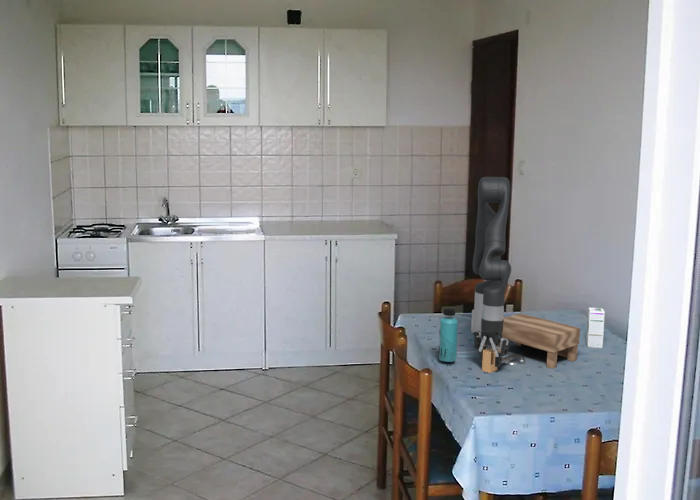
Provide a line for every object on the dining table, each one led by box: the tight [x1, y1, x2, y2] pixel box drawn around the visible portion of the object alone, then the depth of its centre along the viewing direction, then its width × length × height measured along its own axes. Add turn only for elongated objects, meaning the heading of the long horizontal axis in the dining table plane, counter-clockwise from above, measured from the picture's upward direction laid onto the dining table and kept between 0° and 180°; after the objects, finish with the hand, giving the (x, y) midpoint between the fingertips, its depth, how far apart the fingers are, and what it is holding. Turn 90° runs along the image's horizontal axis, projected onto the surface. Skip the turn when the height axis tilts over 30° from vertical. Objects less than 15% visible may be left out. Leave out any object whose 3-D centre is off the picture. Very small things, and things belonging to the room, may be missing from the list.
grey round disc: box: [504, 360, 519, 366], centre depth 278 cm, size 4×4×1 cm
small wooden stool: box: [496, 312, 581, 369], centre depth 286 cm, size 16×26×12 cm, turn 42°
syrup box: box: [585, 307, 606, 349], centre depth 300 cm, size 6×6×14 cm
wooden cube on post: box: [481, 347, 527, 374], centre depth 274 cm, size 18×7×8 cm, turn 132°
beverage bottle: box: [438, 307, 459, 363], centre depth 275 cm, size 6×7×20 cm
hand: (490, 364), depth 269 cm, fingers open, 6 cm apart
